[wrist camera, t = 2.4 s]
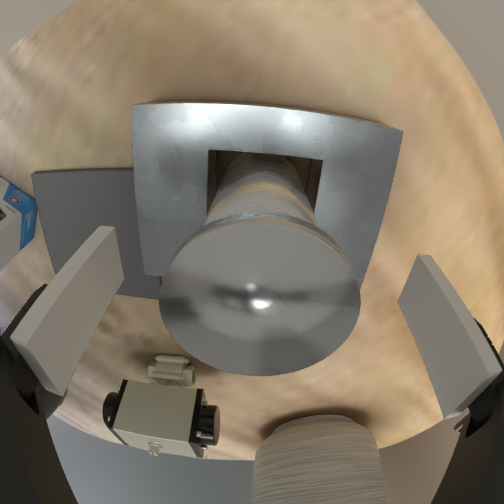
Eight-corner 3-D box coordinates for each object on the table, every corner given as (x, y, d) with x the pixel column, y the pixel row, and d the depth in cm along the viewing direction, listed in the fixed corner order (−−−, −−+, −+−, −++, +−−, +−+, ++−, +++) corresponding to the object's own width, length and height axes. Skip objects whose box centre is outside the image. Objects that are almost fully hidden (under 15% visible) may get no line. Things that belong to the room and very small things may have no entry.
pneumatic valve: (124, 345, 31) (92, 432, 21) (221, 353, 30) (209, 455, 20) (137, 372, 34) (113, 452, 24) (226, 380, 33) (217, 470, 23)
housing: (158, 249, 24) (144, 274, 21) (152, 101, 17) (131, 105, 14) (348, 265, 24) (359, 291, 21) (381, 123, 18) (403, 131, 15)
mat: (61, 281, 26) (59, 284, 26) (35, 172, 20) (31, 174, 19) (163, 295, 26) (162, 299, 26) (152, 168, 20) (149, 170, 19)
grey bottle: (212, 225, 22) (170, 367, 11) (215, 137, 19) (148, 217, 8) (301, 233, 22) (330, 377, 11) (314, 146, 19) (387, 239, 8)
